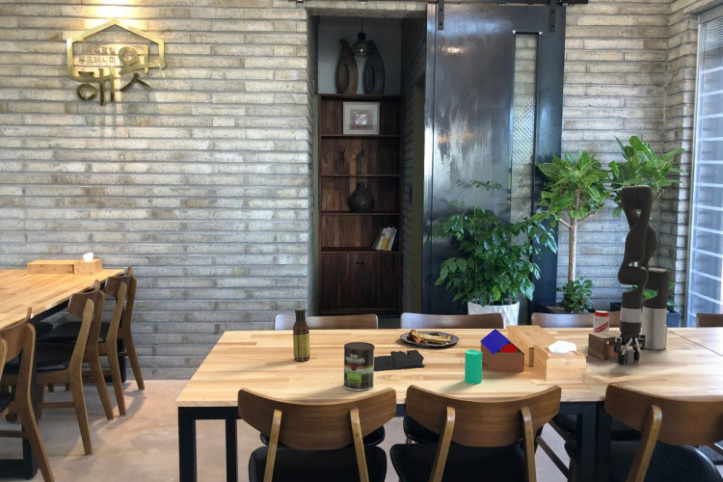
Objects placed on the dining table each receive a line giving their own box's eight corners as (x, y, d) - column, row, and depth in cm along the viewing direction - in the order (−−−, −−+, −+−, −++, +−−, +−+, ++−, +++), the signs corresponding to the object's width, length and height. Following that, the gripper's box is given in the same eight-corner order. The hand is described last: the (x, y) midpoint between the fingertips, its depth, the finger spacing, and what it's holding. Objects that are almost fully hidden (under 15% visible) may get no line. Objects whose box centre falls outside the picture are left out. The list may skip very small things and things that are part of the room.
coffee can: (367, 393, 222) (368, 350, 221) (338, 389, 226) (339, 347, 224) (378, 384, 232) (378, 343, 230) (350, 380, 235) (350, 340, 234)
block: (613, 355, 265) (614, 343, 264) (623, 359, 260) (623, 346, 260) (603, 357, 263) (604, 344, 262) (613, 360, 258) (614, 347, 258)
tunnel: (610, 355, 271) (611, 330, 270) (626, 360, 264) (627, 335, 263) (587, 358, 266) (588, 333, 265) (602, 363, 259) (603, 338, 258)
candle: (462, 378, 238) (463, 345, 237) (479, 378, 239) (480, 345, 238) (466, 384, 232) (467, 349, 231) (483, 383, 233) (484, 349, 232)
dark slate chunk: (360, 362, 260) (360, 350, 259) (413, 357, 267) (414, 346, 266) (373, 373, 245) (373, 360, 245) (429, 368, 252) (429, 356, 252)
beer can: (609, 351, 277) (611, 313, 275) (593, 350, 278) (594, 312, 276) (606, 347, 283) (608, 310, 281) (591, 347, 284) (592, 309, 282)
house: (492, 372, 247) (493, 341, 246) (479, 357, 267) (480, 328, 266) (525, 372, 248) (526, 340, 247) (509, 357, 268) (510, 328, 266)
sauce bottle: (312, 358, 262) (312, 308, 260) (306, 362, 256) (306, 311, 254) (297, 357, 264) (297, 306, 262) (290, 361, 258) (290, 309, 256)
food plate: (392, 344, 284) (393, 336, 284) (409, 333, 306) (410, 325, 305) (450, 352, 275) (451, 344, 275) (464, 340, 296) (464, 332, 296)
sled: (608, 355, 268) (609, 340, 268) (637, 365, 255) (637, 349, 255) (595, 357, 266) (596, 342, 265) (623, 367, 253) (624, 351, 252)
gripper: (637, 315, 259) (634, 358, 261) (608, 318, 253) (606, 362, 255) (652, 319, 253) (650, 363, 254) (623, 323, 247) (621, 367, 248)
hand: (628, 362), depth 255 cm, fingers closed on sled, 6 cm apart
